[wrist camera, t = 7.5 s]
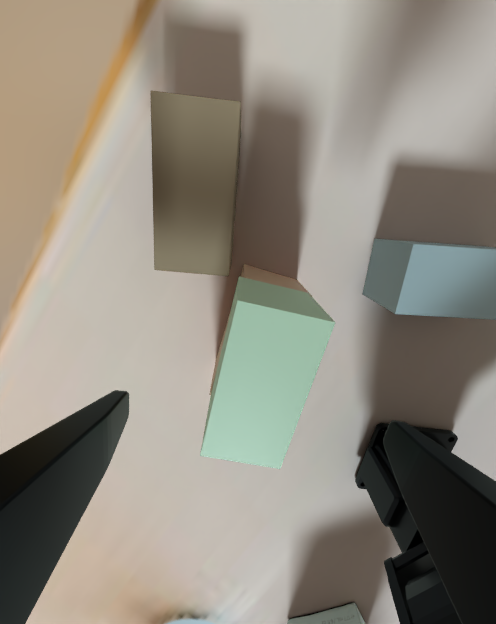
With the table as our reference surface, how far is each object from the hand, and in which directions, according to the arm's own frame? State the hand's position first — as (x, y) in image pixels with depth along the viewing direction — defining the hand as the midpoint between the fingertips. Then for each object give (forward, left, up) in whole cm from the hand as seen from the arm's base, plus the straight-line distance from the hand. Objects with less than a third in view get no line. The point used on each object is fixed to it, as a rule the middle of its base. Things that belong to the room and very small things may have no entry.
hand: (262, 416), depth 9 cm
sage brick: (0, 0, -5) cm, 5 cm away
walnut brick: (+4, -7, -9) cm, 12 cm away
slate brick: (-10, -5, -9) cm, 15 cm away
